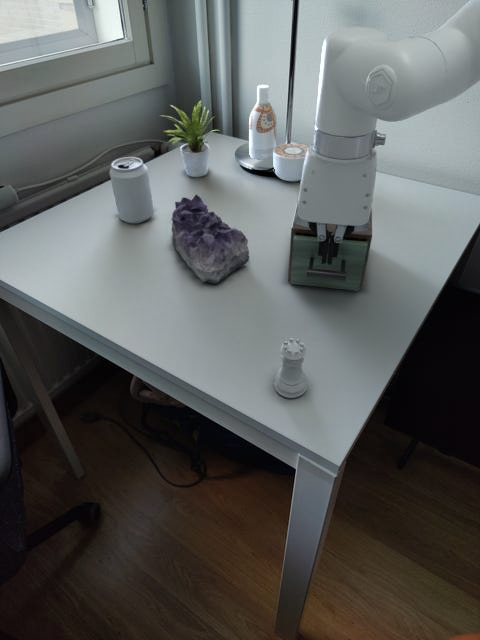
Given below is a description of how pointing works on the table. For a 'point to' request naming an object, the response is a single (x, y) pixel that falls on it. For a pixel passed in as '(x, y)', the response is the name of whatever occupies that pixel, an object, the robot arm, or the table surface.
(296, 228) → the cabinet
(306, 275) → the drawer
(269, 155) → the cosmetic set
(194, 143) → the house plant
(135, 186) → the can
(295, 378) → the rook chess piece
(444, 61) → the robot arm
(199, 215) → the geode
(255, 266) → the table surface
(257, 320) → the table surface
